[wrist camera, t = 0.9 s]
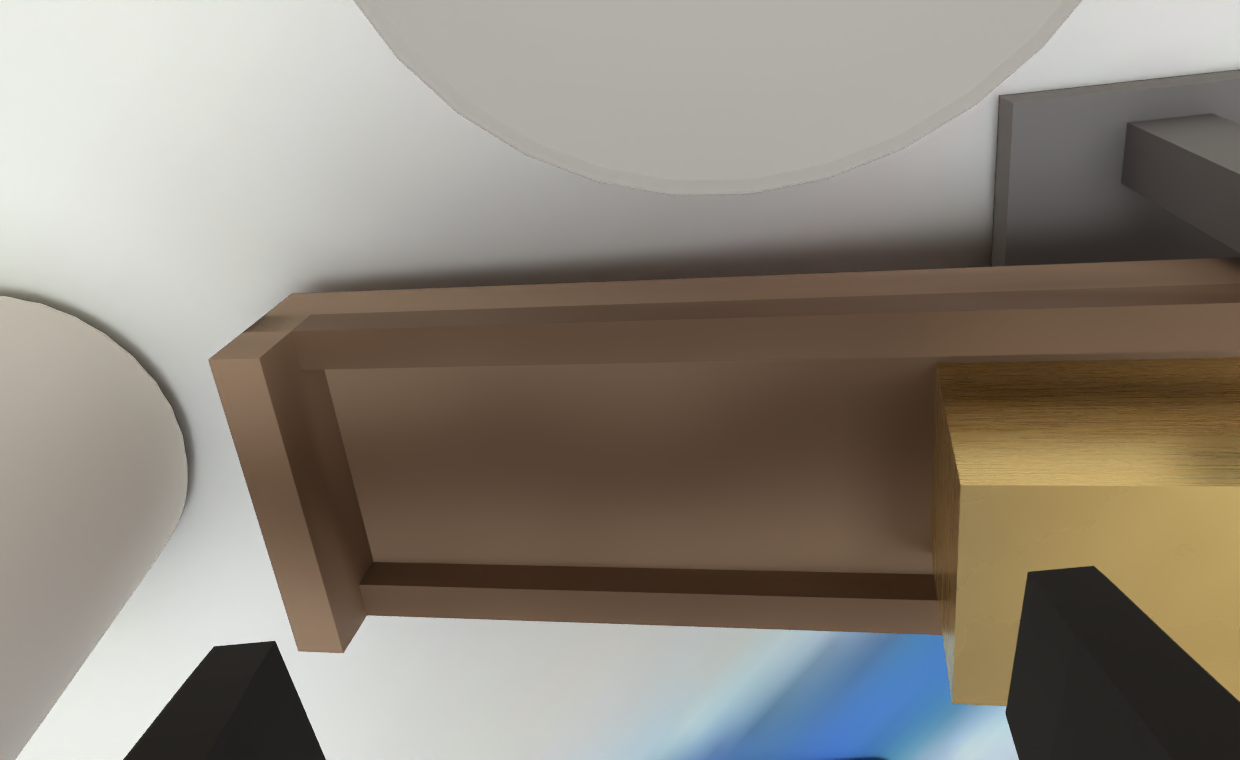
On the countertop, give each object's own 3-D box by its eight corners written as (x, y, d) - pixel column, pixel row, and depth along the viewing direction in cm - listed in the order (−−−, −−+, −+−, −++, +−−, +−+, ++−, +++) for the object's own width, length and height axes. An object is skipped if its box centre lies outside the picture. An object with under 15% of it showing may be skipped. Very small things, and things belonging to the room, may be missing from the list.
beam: (2135, 601, 17) (2391, 746, 14) (362, 562, 24) (299, 654, 21) (2393, 205, 14) (2779, 289, 11) (291, 289, 21) (206, 354, 18)
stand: (1228, 530, 25) (1390, 701, 20) (977, 552, 25) (1070, 726, 20) (1309, 62, 20) (1550, 122, 15) (1000, 95, 20) (1129, 166, 15)
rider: (1220, 558, 18) (1309, 720, 15) (930, 553, 20) (952, 703, 16) (1254, 357, 17) (1365, 486, 13) (935, 363, 18) (960, 485, 14)
